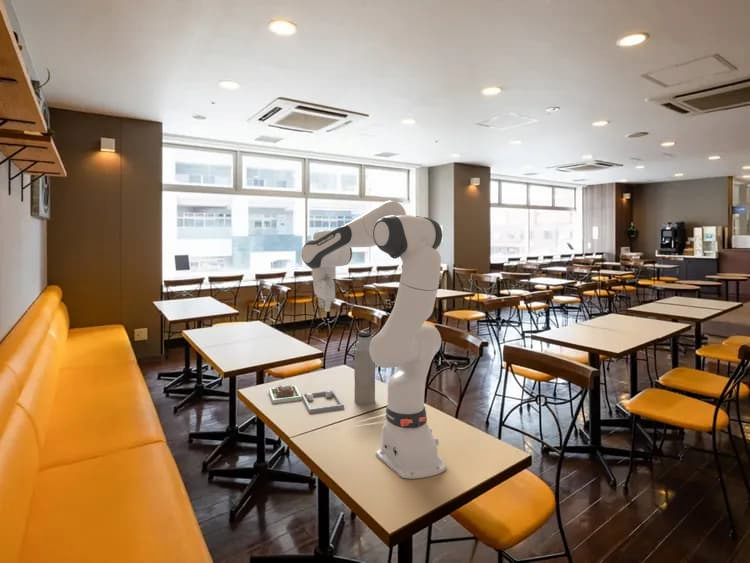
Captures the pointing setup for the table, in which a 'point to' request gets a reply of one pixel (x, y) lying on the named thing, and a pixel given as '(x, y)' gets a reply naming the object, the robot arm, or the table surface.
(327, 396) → the pebble
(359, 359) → the thermos bottle
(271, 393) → the green tray
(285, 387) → the stone
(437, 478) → the table surface
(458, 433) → the table surface
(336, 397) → the slate tray
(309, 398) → the pebble
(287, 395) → the scoop cup
